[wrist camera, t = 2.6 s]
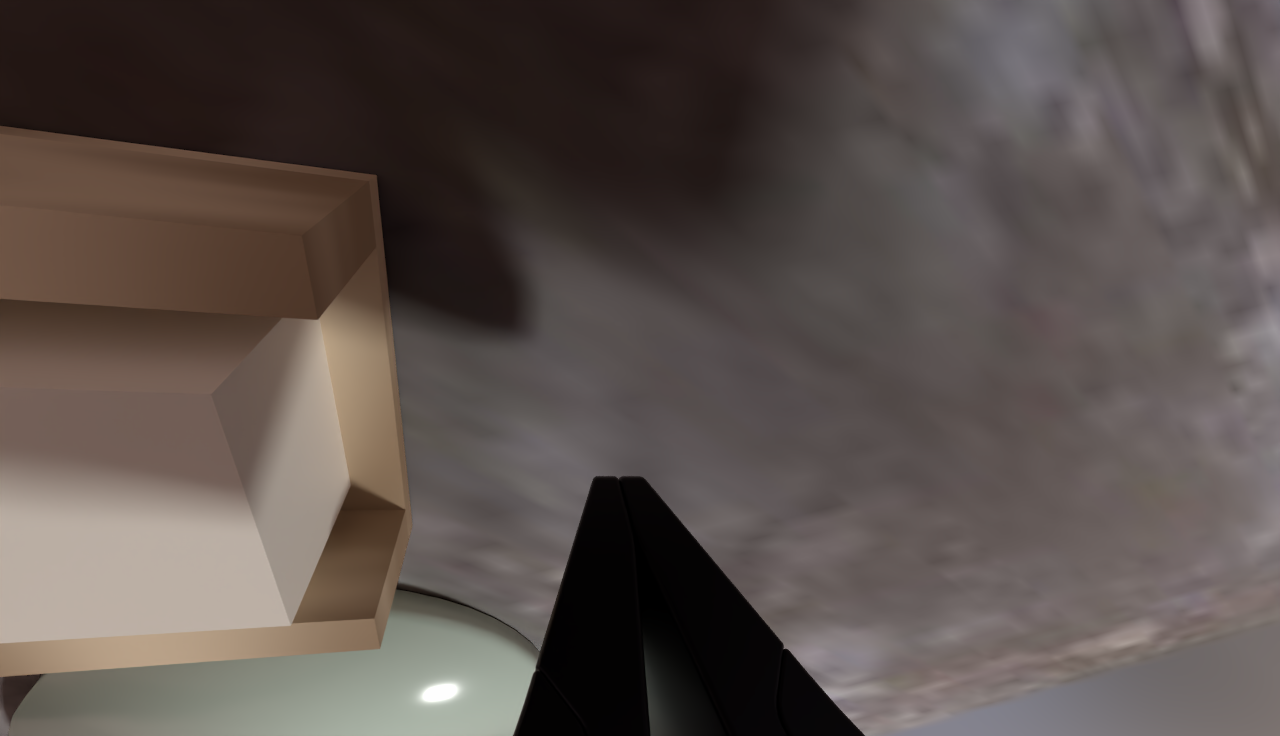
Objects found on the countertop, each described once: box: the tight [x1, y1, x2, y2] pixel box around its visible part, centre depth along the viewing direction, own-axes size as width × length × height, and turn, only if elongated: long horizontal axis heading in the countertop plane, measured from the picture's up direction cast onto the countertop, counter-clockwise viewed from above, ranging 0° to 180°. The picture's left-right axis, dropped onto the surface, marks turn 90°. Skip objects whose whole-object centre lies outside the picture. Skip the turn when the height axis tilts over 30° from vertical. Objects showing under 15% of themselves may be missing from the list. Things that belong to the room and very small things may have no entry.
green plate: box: [8, 590, 540, 736], centre depth 15 cm, size 14×14×1 cm
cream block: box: [0, 299, 351, 643], centre depth 7 cm, size 6×4×3 cm
